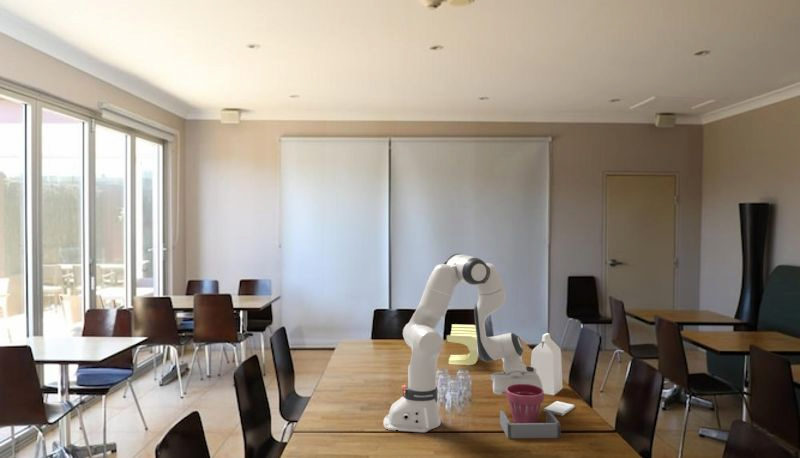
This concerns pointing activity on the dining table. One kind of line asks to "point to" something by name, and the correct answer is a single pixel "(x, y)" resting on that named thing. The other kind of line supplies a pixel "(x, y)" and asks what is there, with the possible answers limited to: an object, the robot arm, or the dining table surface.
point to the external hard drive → (559, 408)
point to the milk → (548, 365)
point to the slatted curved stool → (466, 337)
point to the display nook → (532, 428)
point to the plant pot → (525, 402)
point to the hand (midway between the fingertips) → (520, 403)
